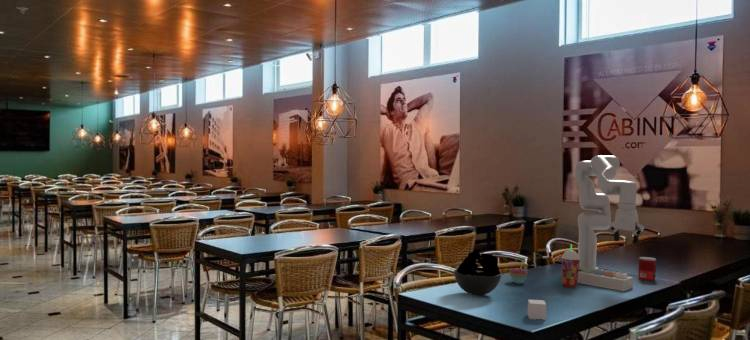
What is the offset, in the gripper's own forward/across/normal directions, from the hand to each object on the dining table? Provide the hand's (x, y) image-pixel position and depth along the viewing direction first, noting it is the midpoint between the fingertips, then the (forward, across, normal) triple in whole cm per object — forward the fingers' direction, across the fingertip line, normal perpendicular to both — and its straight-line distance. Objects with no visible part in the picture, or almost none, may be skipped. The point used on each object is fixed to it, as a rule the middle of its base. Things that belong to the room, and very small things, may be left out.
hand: (625, 242), depth 284 cm
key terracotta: (+18, -3, -7) cm, 20 cm away
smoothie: (+21, -12, -26) cm, 36 cm away
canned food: (+21, -3, +26) cm, 34 cm away
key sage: (+18, -14, -9) cm, 25 cm away
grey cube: (+22, +15, -85) cm, 89 cm away
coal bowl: (+22, -22, -79) cm, 85 cm away
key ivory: (+18, +2, -6) cm, 19 cm away
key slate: (+18, -9, -8) cm, 22 cm away
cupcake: (+21, -30, -42) cm, 56 cm away
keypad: (+21, -6, -8) cm, 23 cm away
